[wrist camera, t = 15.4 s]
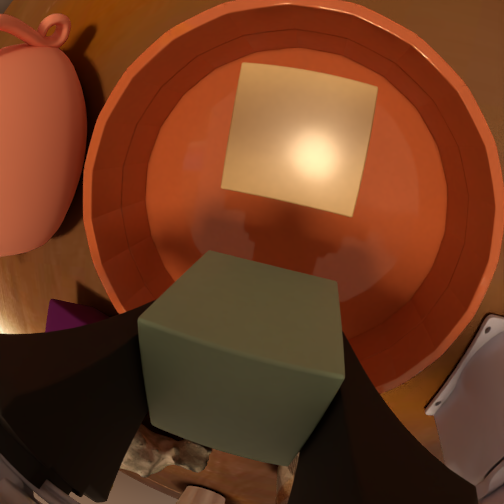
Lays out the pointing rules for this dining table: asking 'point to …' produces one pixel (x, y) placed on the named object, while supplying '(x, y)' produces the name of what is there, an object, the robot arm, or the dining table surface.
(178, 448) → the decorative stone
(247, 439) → the block
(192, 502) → the cup
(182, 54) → the bowl
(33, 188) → the teapot
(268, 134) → the block
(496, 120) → the dining table surface
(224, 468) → the dining table surface
